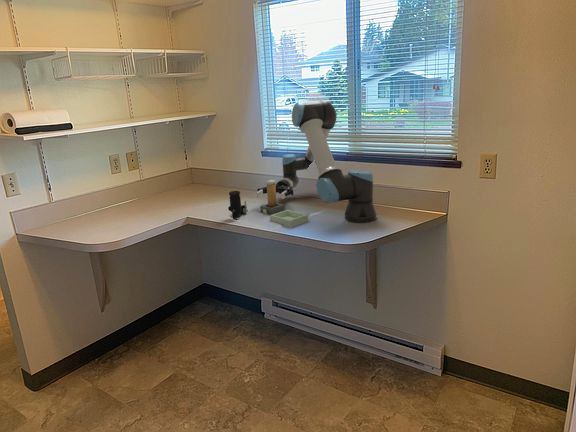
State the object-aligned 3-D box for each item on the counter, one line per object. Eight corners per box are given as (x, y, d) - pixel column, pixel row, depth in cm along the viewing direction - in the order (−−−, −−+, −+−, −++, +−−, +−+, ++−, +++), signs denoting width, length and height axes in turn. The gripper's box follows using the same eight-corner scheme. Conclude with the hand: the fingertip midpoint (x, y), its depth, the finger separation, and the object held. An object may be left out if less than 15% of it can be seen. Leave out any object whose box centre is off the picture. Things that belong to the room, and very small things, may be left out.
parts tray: (308, 221, 214) (307, 214, 213) (290, 227, 206) (290, 220, 205) (287, 216, 224) (287, 209, 223) (270, 222, 216) (269, 215, 215)
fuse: (278, 210, 231) (277, 180, 226) (272, 212, 228) (270, 182, 223) (272, 209, 234) (271, 179, 229) (266, 211, 231) (264, 181, 226)
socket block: (289, 212, 231) (288, 204, 230) (272, 217, 223) (271, 209, 222) (273, 208, 239) (272, 201, 238) (256, 213, 231) (256, 206, 230)
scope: (246, 189, 225) (240, 194, 216) (248, 215, 229) (242, 221, 220) (230, 189, 227) (224, 194, 217) (233, 215, 231) (226, 220, 221)
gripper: (305, 193, 242) (292, 203, 223) (263, 191, 250) (247, 201, 231) (305, 180, 239) (292, 189, 220) (262, 178, 248) (246, 187, 229)
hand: (269, 195), depth 226 cm, fingers open, 13 cm apart
